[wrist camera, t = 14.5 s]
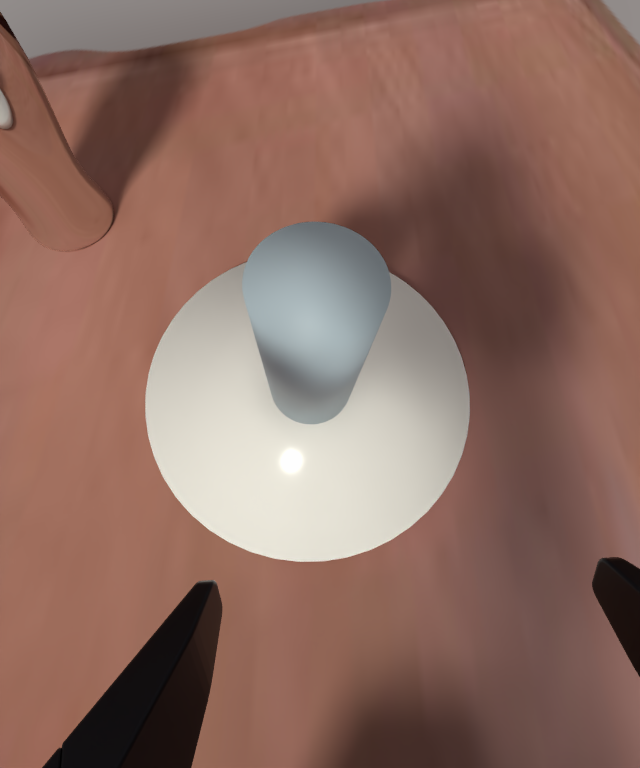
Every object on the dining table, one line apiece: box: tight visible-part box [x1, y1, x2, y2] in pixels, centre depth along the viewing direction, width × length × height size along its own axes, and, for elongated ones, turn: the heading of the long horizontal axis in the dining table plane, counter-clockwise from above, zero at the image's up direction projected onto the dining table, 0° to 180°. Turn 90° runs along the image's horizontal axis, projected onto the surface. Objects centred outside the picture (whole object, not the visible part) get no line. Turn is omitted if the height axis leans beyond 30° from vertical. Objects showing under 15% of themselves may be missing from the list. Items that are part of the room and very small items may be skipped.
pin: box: [242, 222, 391, 424], centre depth 17 cm, size 5×5×11 cm
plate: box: [146, 262, 470, 562], centre depth 23 cm, size 20×20×1 cm
